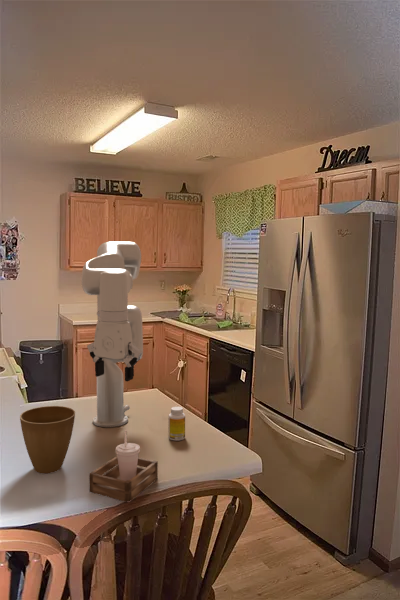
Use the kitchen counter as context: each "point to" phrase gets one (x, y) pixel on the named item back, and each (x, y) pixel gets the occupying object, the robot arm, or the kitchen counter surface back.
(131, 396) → the kitchen counter surface
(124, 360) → the robot arm
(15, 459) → the kitchen counter surface
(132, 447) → the smoothie
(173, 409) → the supplement bottle
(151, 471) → the crate
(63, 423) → the plant pot
